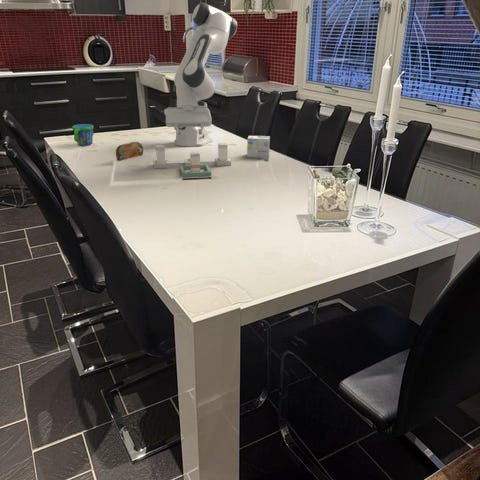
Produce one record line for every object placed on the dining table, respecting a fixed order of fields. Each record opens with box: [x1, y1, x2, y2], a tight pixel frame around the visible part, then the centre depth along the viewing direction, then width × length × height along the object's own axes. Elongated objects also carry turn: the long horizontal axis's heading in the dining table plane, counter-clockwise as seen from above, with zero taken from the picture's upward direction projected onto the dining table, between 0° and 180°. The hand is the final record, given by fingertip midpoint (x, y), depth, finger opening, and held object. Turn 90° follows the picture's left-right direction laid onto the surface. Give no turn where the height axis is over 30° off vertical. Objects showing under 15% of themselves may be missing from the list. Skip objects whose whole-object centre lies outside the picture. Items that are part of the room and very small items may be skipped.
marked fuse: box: [189, 151, 201, 172], centre depth 198 cm, size 4×4×9 cm
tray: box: [179, 165, 212, 181], centre depth 200 cm, size 12×12×3 cm
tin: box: [115, 141, 144, 161], centre depth 220 cm, size 15×3×8 cm, turn 143°
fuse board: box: [153, 156, 232, 170], centre depth 210 cm, size 9×34×4 cm, turn 102°
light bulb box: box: [246, 135, 271, 161], centre depth 226 cm, size 11×7×11 cm, turn 84°
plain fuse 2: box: [217, 142, 228, 161], centre depth 211 cm, size 4×4×9 cm
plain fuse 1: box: [155, 144, 166, 163], centre depth 206 cm, size 4×4×9 cm
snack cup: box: [71, 123, 95, 147], centre depth 248 cm, size 16×10×10 cm
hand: (189, 133), depth 203 cm, fingers open, 8 cm apart
